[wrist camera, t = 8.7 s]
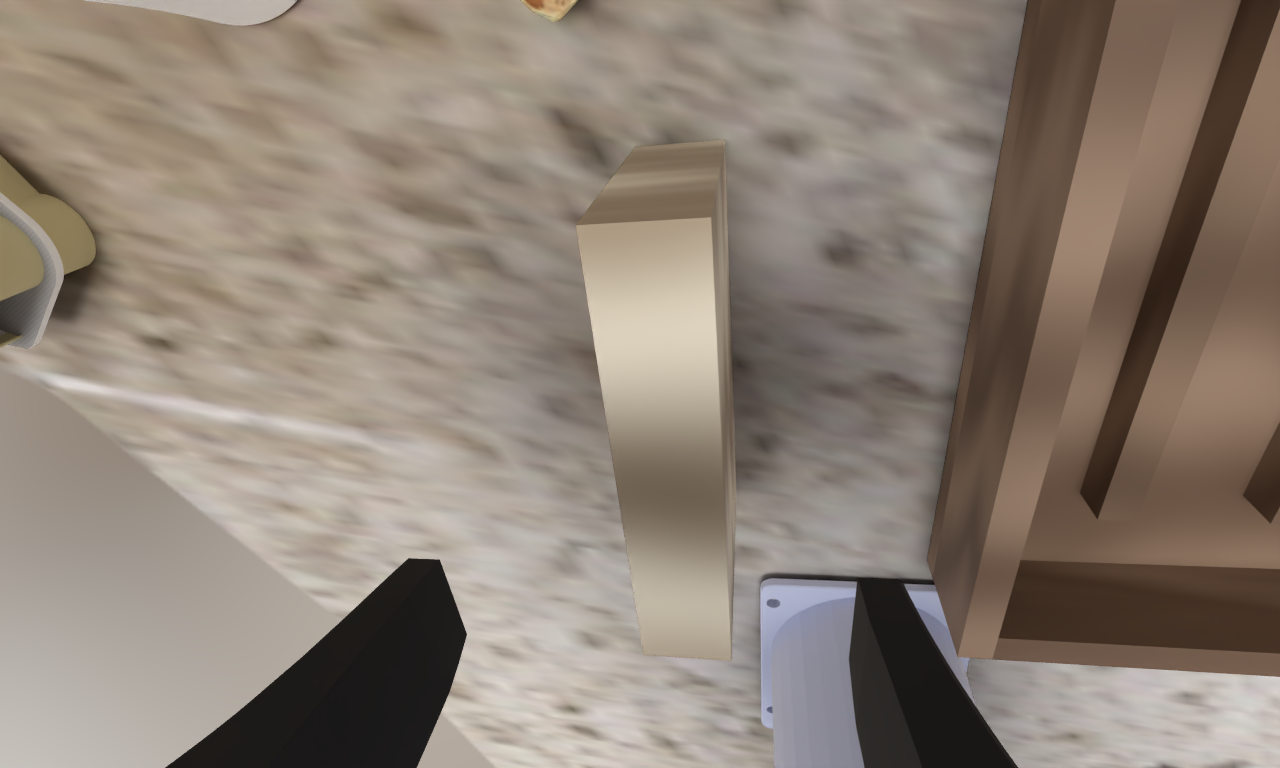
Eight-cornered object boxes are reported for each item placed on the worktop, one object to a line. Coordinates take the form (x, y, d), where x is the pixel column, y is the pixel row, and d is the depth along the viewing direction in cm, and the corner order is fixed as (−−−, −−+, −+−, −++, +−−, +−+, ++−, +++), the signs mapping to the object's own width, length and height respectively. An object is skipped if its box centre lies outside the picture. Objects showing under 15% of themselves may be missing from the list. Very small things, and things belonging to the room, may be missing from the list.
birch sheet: (736, 488, 23) (731, 660, 17) (670, 487, 23) (642, 654, 17) (725, 138, 17) (711, 217, 11) (635, 145, 17) (575, 225, 11)
